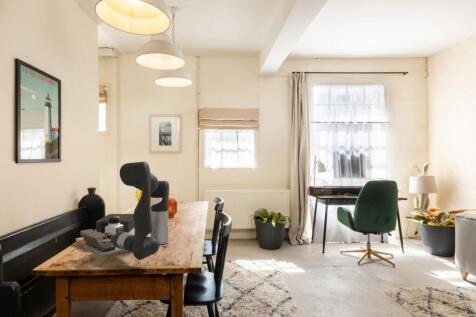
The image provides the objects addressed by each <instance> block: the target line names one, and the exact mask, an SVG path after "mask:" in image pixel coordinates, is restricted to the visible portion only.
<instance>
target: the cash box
mask: <svg viewBox="0 0 476 317" xmlns="http://www.w3.org/2000/svg"><path fill="white" fill-rule="evenodd" d="M133 214H134V213H109V214H107V215H105V216H103V217H102V218H100V219H98V220H96V222H95V231H97V232H101V233H102V234H105V227H106V226H109V218H110V217H120V225H123V231H124V232H127V233H130V232H131V231H132V230H133V229H134V220H133Z"/></svg>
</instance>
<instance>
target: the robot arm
mask: <svg viewBox="0 0 476 317" xmlns="http://www.w3.org/2000/svg"><path fill="white" fill-rule="evenodd" d="M119 178H120V181H121V182H122V184H124V185H125V186H127V187H128V186H129V187H133V188H135V189H137V190H140V191H141V195H140V198H139V200H138V202H137V204H136V205H135V208H134V210H133V213H132V214H133V220H134V228H133V229H134V234H133V233H130V232H128V233H127V232H124V231H120V232H118V233H109V232H108V233H104V234H105V236H104V237H103V243H106V242H107V241H109V242H110V243H113V245H114V246H115V247H116V248H118V249H121V250H122V251H126V252H129V253H132V255H133V256H134V258H135V259H137V260H144V259H145V258H148V257H150V256H153V255H155V254H156V253H157V252H158V251H159V249H160V245H164V244H168V243H169V235H170V234H169V230H170V229H169V224H170V223H169V205H170V204H169V198H170V197H169V196H170V183H169V181H167V180H158V178H157V177H156V176H155V175H154V174H153V173H152V172H151V169H150V165H149V163H148V162H147V161H135V162H134V161H133V162H126V163H124V164H122V165H121V167H120V169H119ZM151 198H153V199H161V200H160V201H159V202H157V203H154V204H152V205H151ZM149 235H150V236H149Z"/></svg>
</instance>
